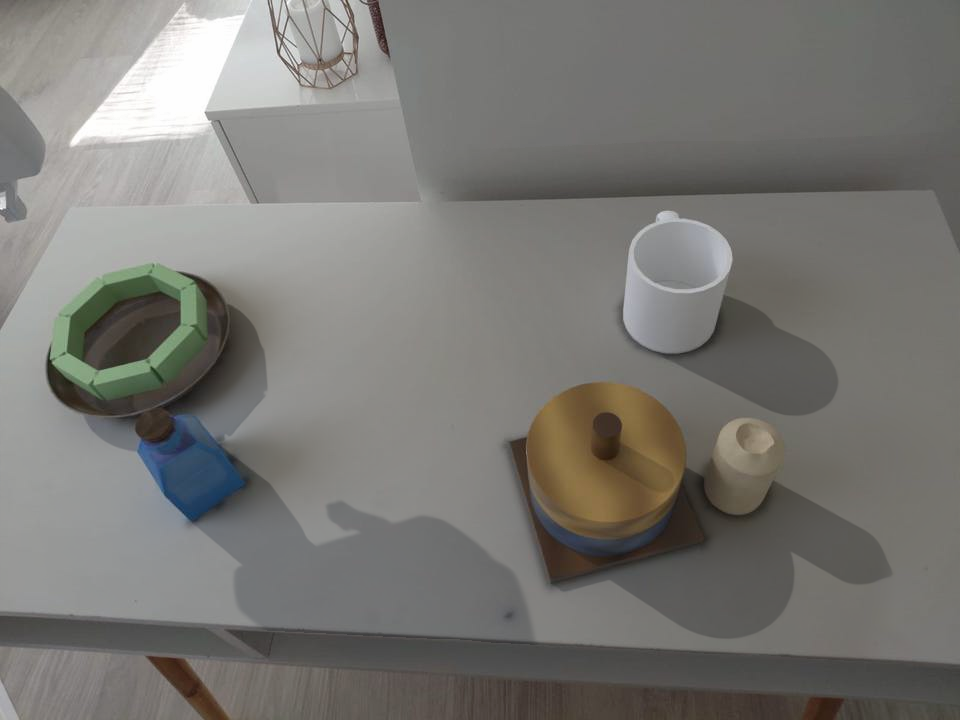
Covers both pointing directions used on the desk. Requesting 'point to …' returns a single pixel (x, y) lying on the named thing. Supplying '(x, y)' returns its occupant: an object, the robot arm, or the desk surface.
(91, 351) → the plant saucer
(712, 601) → the desk surface
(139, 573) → the desk surface
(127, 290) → the ring
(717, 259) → the mug
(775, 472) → the candle
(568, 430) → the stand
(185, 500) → the perfume bottle
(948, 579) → the desk surface
